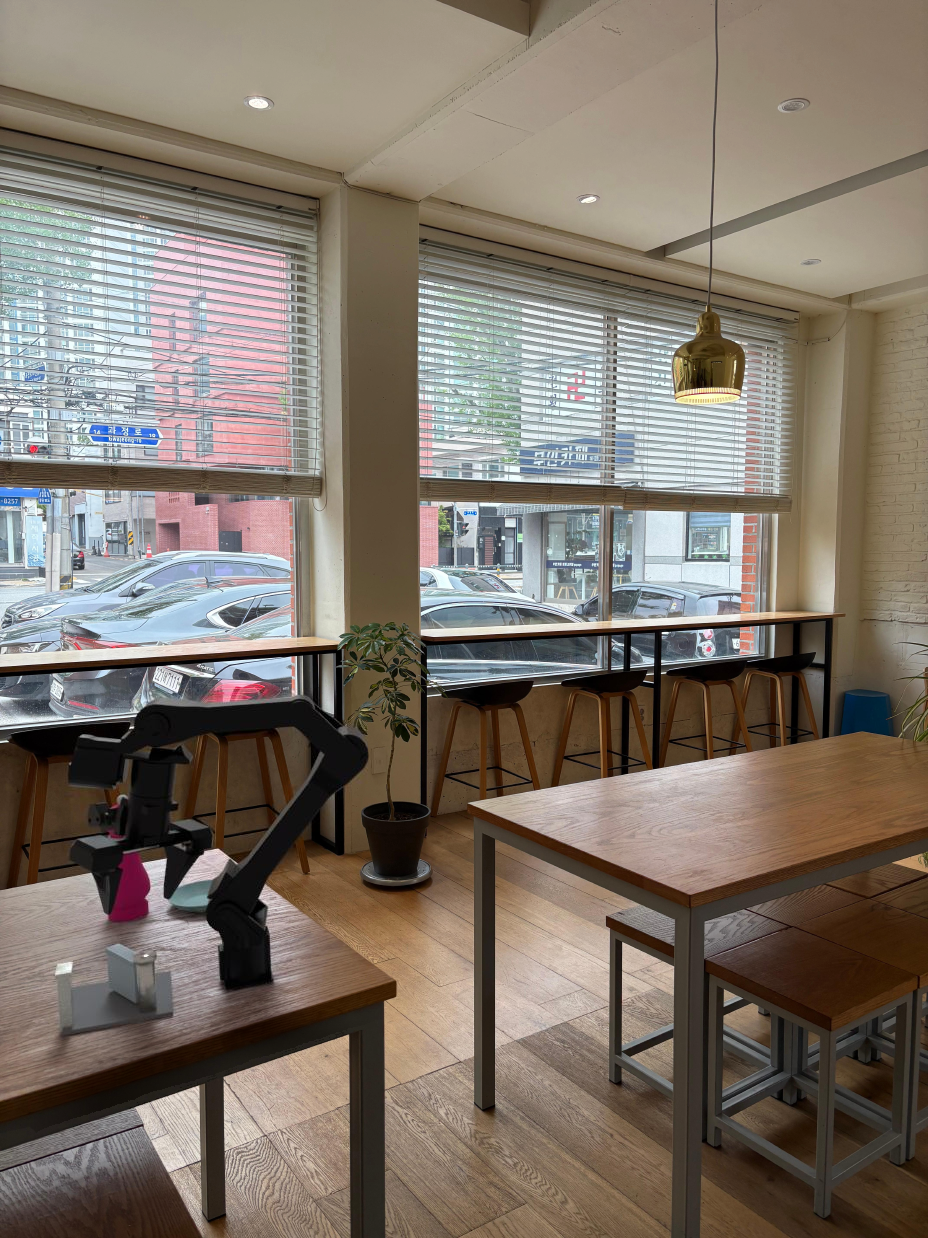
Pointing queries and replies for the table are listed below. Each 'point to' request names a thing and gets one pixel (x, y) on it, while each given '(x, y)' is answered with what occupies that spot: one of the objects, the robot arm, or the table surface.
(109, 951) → the gate
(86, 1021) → the mat
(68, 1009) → the latch post
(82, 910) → the table surface
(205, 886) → the saucer
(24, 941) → the table surface
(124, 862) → the pepper mill
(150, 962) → the hinge post
